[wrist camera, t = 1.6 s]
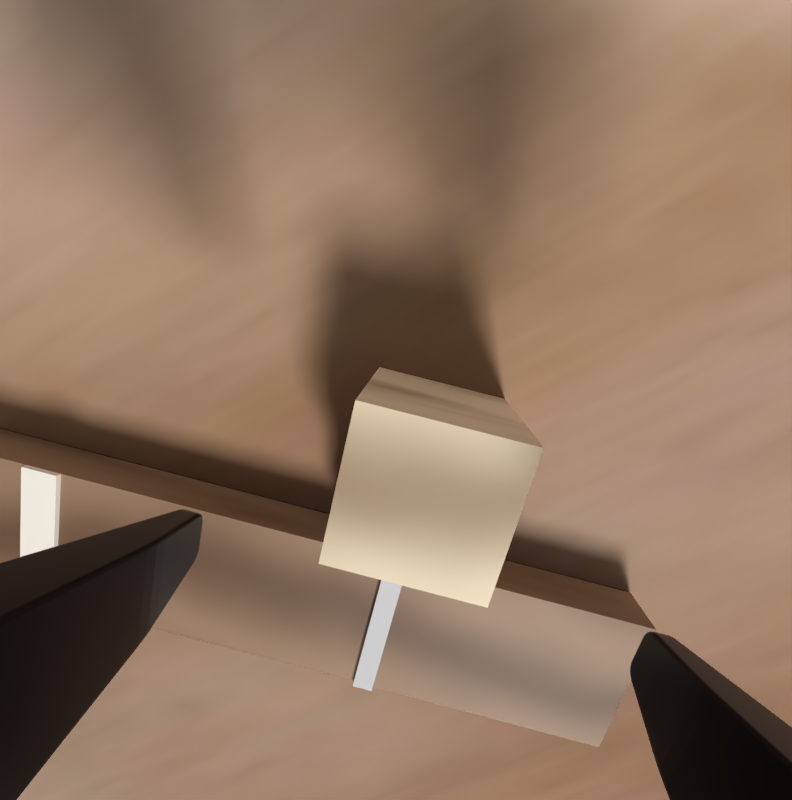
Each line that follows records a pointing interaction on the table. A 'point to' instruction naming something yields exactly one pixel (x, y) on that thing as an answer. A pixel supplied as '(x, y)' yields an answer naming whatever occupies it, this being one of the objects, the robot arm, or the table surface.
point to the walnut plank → (340, 597)
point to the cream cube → (430, 487)
